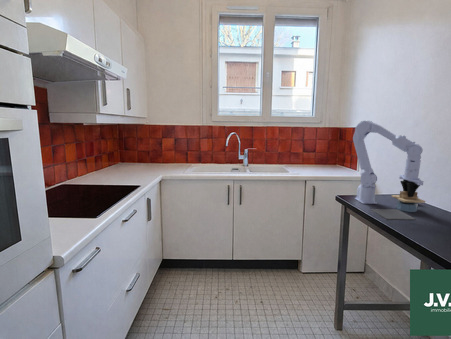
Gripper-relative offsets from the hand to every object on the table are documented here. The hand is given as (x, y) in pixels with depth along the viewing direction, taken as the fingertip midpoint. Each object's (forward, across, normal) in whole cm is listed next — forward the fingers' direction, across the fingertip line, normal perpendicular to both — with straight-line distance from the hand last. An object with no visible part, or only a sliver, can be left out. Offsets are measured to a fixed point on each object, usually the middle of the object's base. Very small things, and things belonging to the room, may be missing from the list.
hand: (408, 195), depth 131 cm
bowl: (+7, 0, 0) cm, 7 cm away
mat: (+7, -8, +12) cm, 16 cm away
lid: (+2, 0, 0) cm, 2 cm away
